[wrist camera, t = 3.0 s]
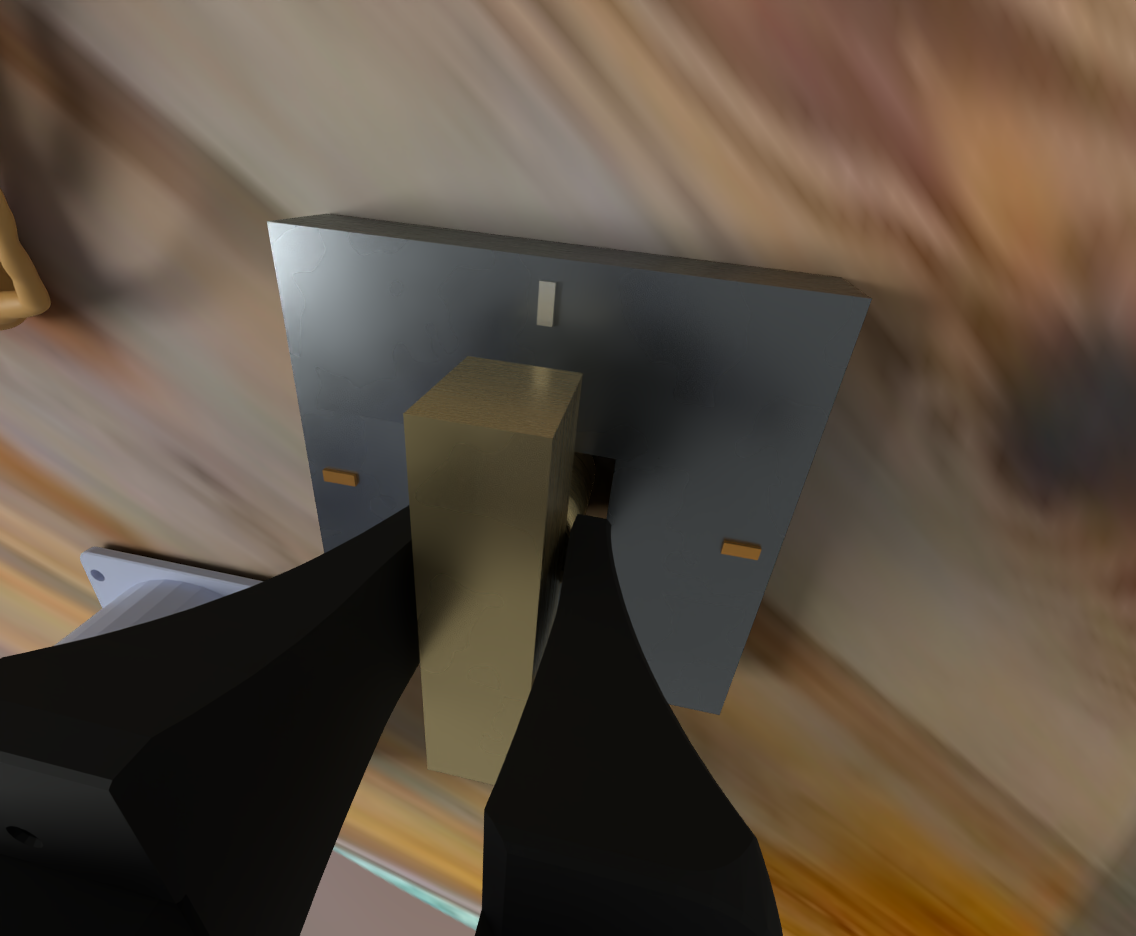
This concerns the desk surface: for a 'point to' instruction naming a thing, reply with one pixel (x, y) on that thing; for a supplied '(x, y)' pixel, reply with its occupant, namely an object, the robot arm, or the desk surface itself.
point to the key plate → (583, 398)
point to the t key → (489, 547)
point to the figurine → (17, 276)
